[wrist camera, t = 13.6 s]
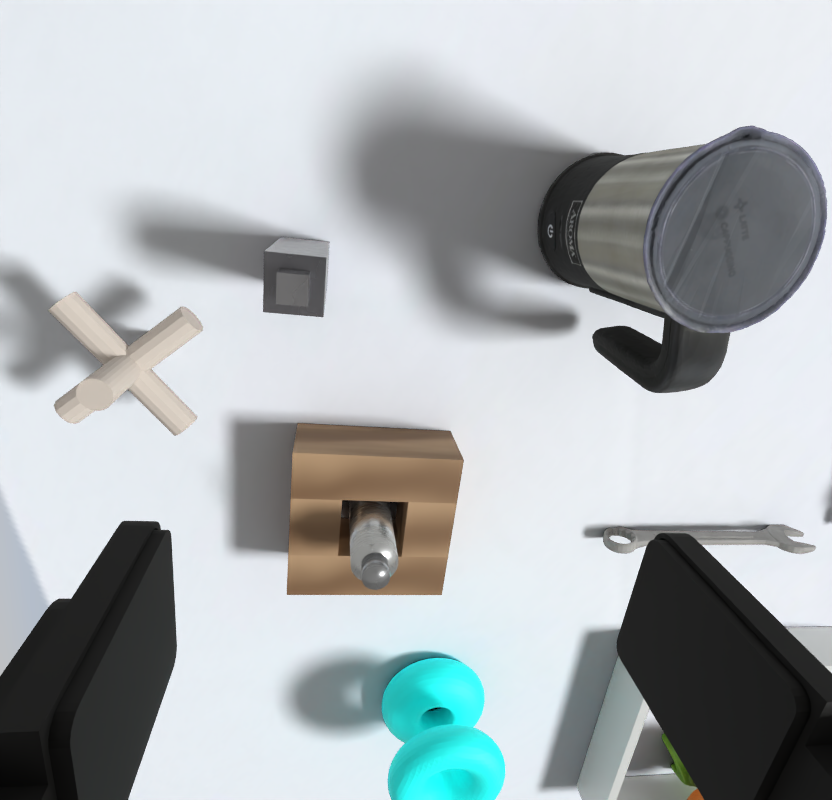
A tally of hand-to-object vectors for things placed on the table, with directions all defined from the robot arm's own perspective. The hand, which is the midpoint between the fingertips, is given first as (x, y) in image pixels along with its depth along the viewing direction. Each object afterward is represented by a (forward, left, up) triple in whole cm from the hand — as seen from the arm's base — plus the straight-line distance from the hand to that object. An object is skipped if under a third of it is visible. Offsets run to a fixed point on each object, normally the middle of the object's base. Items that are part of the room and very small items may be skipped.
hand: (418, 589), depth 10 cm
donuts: (+38, +10, -31) cm, 50 cm away
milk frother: (-6, +21, -31) cm, 37 cm away
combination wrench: (+19, +33, -31) cm, 49 cm away
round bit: (+16, +2, -30) cm, 34 cm away
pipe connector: (+5, -14, -31) cm, 34 cm away
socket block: (+16, +2, -30) cm, 34 cm away
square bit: (-2, -4, -30) cm, 31 cm away
